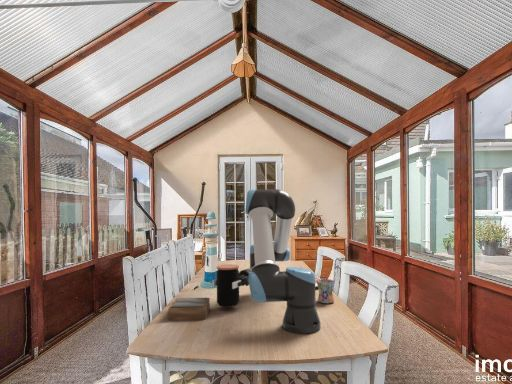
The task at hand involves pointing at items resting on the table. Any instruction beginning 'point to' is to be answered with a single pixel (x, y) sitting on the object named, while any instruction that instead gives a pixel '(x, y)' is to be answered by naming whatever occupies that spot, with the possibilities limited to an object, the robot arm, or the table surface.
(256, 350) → the table surface
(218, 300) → the coffee jar
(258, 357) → the table surface
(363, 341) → the table surface
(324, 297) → the mug
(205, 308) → the walnut stand
